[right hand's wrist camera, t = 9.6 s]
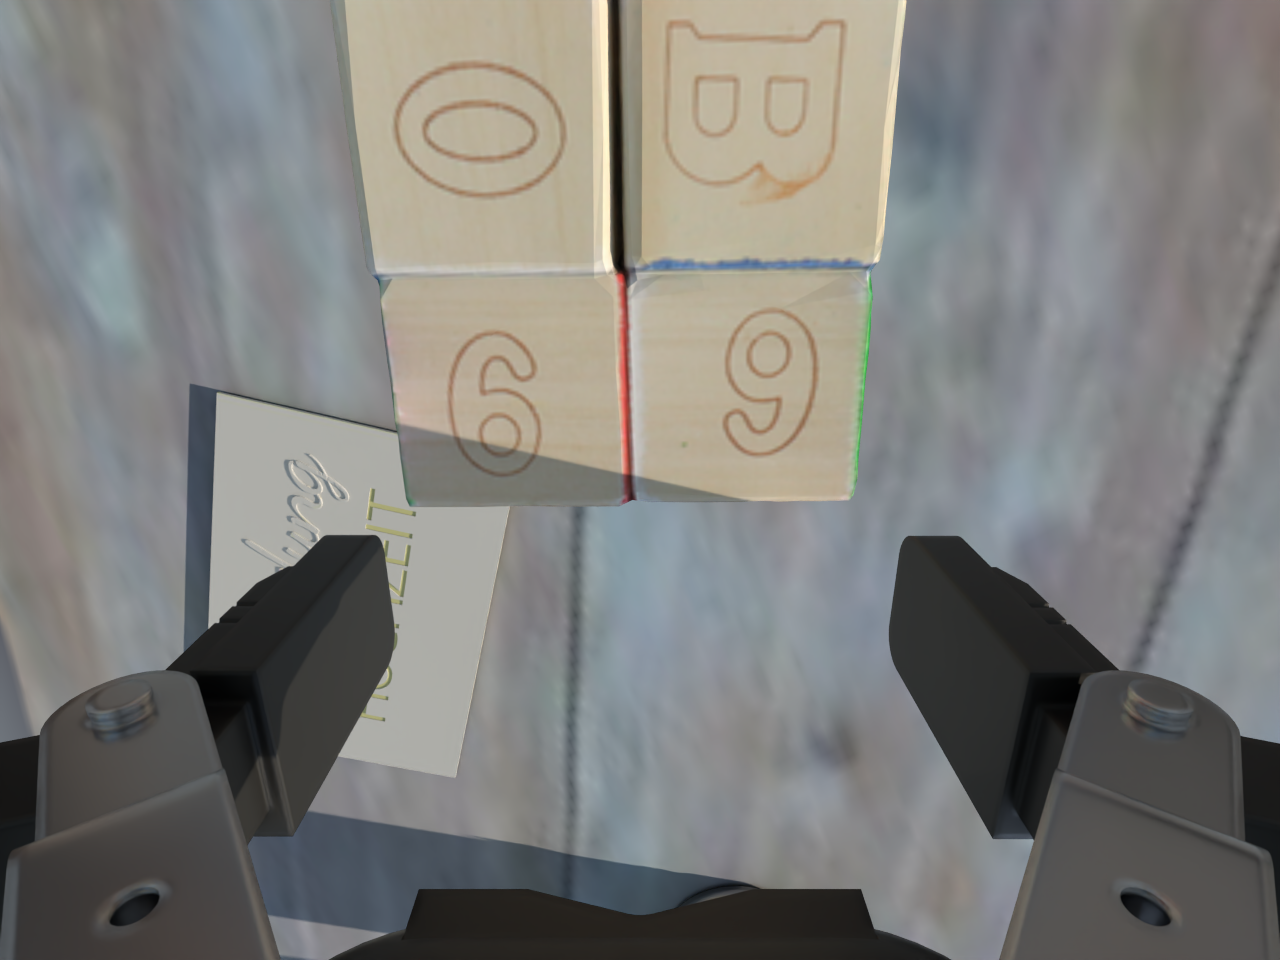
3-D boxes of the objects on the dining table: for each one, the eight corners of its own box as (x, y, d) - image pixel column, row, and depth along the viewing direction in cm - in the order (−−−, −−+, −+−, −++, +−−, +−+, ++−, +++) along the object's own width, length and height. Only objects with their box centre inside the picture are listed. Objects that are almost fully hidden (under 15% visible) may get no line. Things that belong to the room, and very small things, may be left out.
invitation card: (454, 778, 44) (203, 732, 42) (456, 775, 44) (206, 729, 43) (518, 462, 36) (216, 393, 35) (518, 460, 37) (218, 391, 35)
